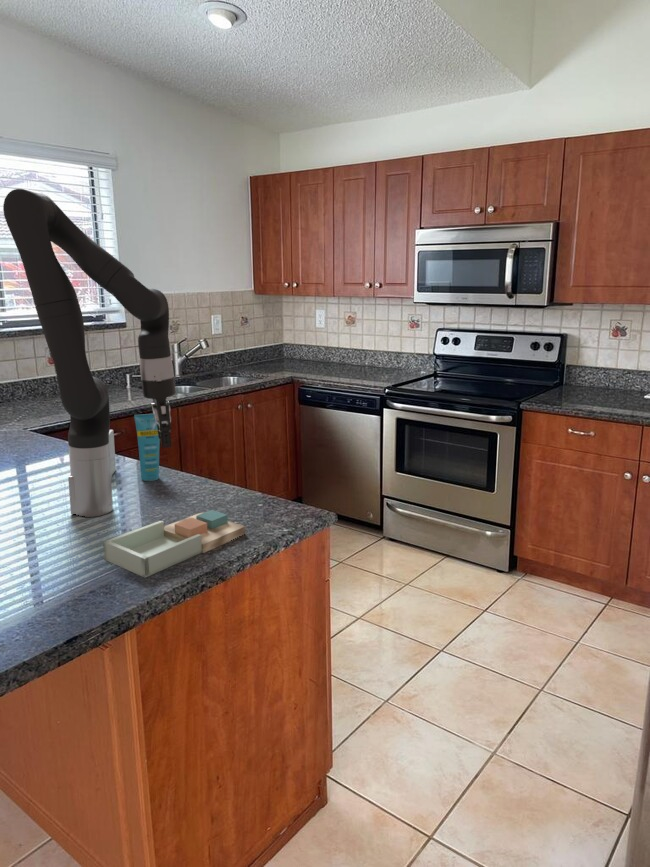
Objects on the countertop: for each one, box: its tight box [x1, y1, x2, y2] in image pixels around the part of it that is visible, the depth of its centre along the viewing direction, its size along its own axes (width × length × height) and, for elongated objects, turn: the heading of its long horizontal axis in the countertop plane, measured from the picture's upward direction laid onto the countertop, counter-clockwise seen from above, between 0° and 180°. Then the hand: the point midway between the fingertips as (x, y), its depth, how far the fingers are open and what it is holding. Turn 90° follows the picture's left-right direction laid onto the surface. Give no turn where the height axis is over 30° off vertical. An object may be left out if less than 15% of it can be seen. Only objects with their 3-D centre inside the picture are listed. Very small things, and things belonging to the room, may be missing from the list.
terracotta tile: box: [175, 518, 207, 538], centre depth 143 cm, size 5×5×2 cm
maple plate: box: [164, 512, 246, 554], centre depth 146 cm, size 13×14×2 cm
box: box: [102, 520, 203, 578], centre depth 135 cm, size 15×13×4 cm
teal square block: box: [196, 509, 229, 529], centre depth 148 cm, size 5×5×2 cm
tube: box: [133, 413, 161, 482], centre depth 182 cm, size 7×5×19 cm, turn 123°
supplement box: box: [109, 429, 117, 477], centre depth 186 cm, size 7×7×13 cm
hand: (164, 442), depth 155 cm, fingers open, 8 cm apart
